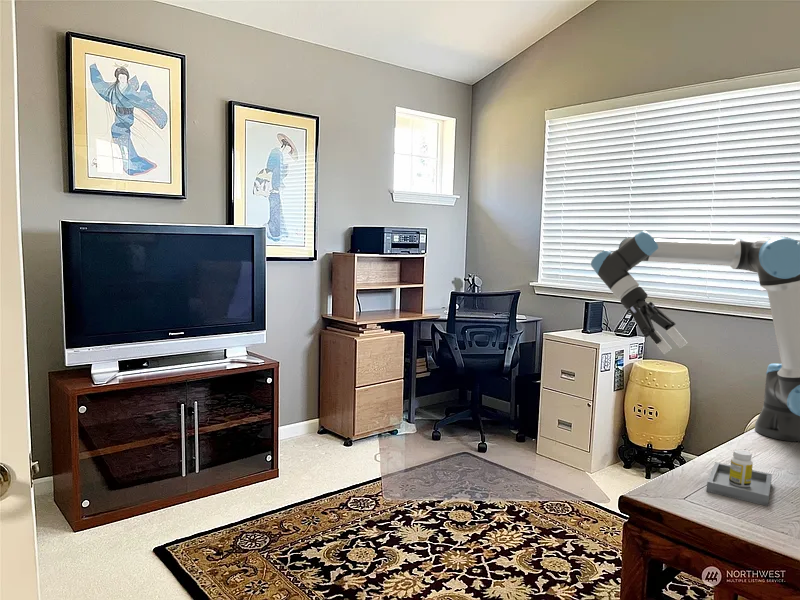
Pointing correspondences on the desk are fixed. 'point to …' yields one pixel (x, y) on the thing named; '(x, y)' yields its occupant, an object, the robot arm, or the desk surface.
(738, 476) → the supplement bottle
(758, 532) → the desk surface
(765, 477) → the tray
